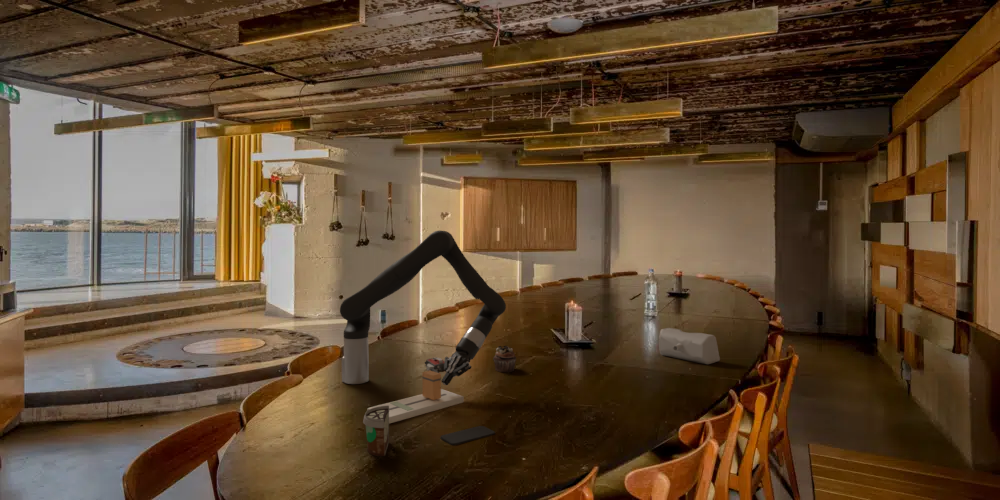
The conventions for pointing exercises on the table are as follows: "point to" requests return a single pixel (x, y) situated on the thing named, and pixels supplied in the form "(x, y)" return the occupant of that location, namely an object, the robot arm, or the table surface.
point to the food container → (377, 430)
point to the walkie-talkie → (435, 364)
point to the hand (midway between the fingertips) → (444, 383)
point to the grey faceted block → (688, 346)
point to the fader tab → (431, 384)
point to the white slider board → (419, 405)
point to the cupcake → (504, 359)
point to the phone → (467, 435)
